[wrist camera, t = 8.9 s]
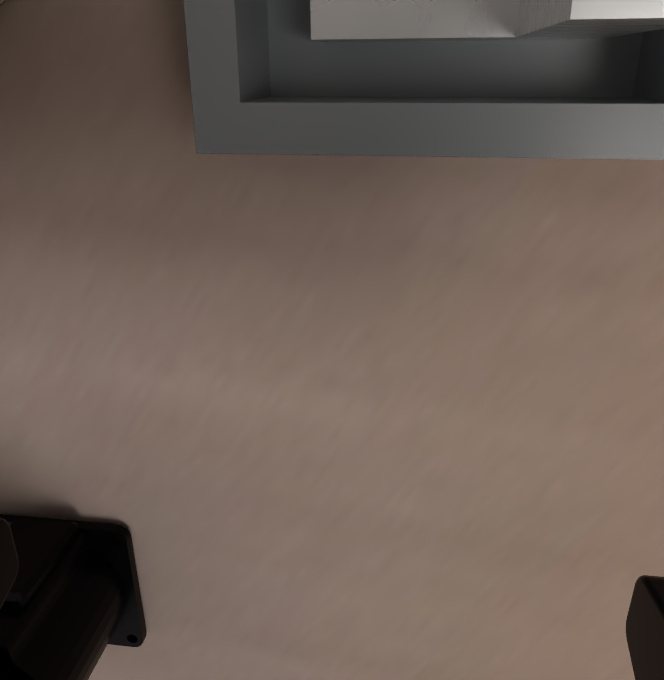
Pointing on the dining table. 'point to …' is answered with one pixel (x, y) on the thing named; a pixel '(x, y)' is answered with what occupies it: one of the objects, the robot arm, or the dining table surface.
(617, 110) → the bin
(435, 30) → the bracket
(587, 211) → the dining table surface
